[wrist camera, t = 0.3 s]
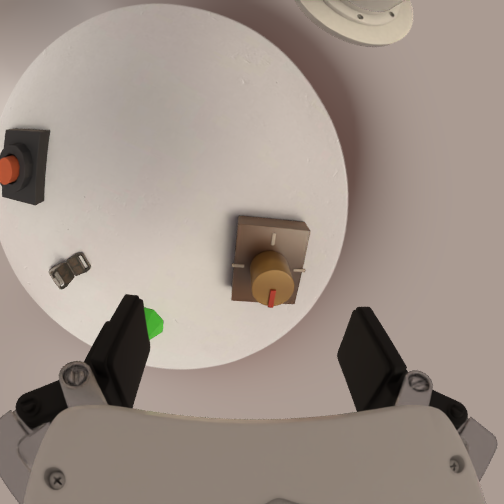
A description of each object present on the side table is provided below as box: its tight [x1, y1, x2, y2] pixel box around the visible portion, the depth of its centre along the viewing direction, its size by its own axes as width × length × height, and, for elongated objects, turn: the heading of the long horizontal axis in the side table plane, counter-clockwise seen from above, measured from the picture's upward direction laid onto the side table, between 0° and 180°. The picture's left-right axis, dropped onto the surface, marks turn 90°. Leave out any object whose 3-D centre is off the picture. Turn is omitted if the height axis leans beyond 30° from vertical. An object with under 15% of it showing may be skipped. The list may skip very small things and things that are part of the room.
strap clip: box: [49, 253, 91, 290], centre depth 32 cm, size 8×3×4 cm, turn 111°
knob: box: [250, 251, 294, 308], centre depth 30 cm, size 4×4×5 cm
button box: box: [0, 128, 50, 205], centre depth 25 cm, size 10×8×4 cm
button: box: [0, 155, 20, 185], centre depth 23 cm, size 4×4×2 cm
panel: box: [231, 216, 310, 304], centre depth 33 cm, size 10×9×3 cm
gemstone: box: [144, 308, 163, 340], centre depth 36 cm, size 6×6×6 cm
